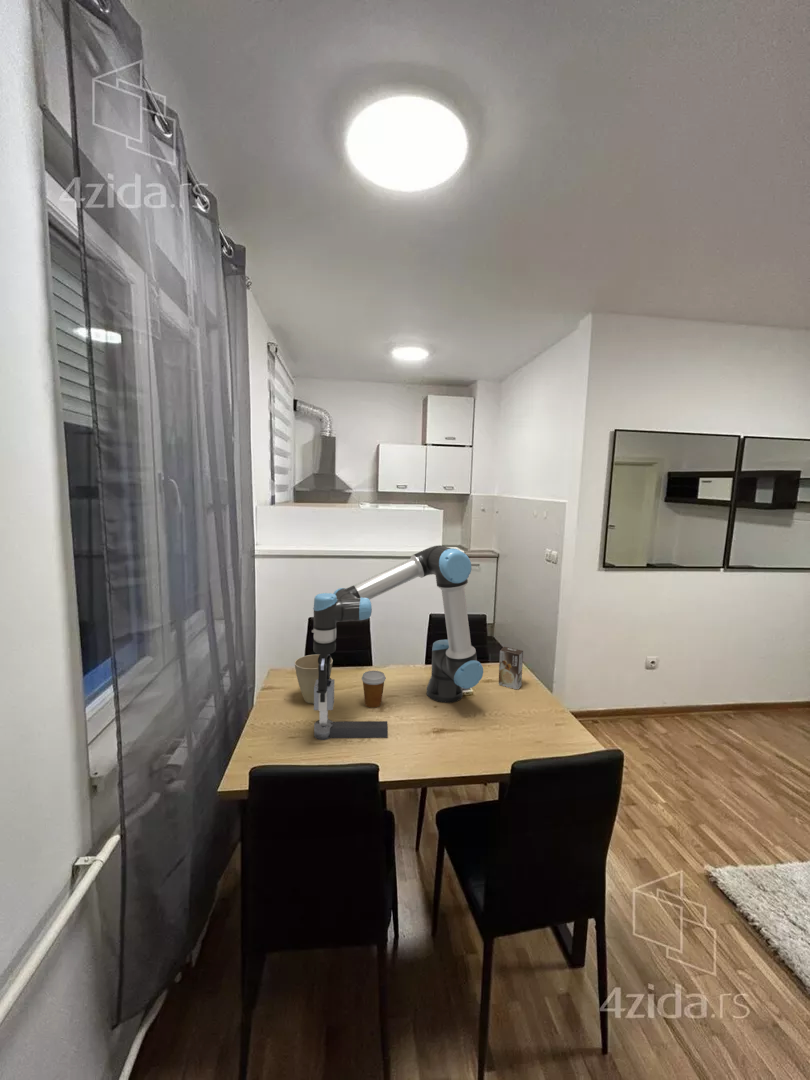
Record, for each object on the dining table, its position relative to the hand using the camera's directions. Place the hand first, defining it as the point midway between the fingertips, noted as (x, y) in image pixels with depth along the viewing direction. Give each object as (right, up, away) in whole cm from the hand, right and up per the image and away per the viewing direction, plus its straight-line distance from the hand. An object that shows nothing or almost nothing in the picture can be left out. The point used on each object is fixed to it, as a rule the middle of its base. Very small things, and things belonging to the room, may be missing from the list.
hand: (323, 704), depth 150 cm
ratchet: (+9, -11, +2) cm, 14 cm away
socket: (0, 0, 0) cm, 0 cm away
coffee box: (+75, -9, +46) cm, 88 cm away
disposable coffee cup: (+15, -9, +24) cm, 30 cm away
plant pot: (-9, -8, +26) cm, 29 cm away
